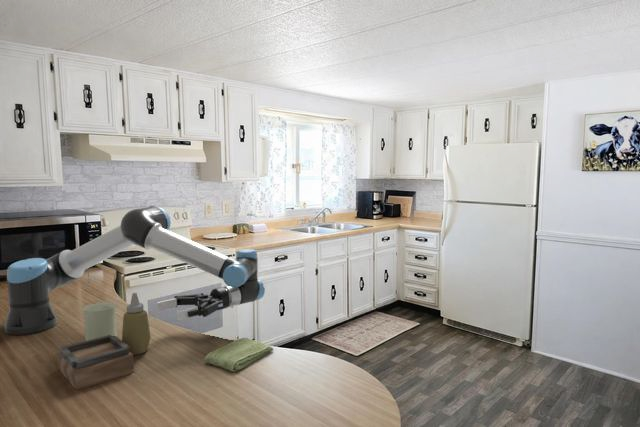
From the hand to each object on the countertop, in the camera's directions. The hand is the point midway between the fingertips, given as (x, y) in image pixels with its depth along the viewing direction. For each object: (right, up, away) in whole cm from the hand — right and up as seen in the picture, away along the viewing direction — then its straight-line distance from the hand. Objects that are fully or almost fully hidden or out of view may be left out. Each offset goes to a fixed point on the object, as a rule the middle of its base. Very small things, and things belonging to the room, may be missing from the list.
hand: (166, 311), depth 134 cm
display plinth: (-13, -12, -19) cm, 25 cm away
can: (-22, -10, +2) cm, 24 cm away
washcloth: (+25, -12, -9) cm, 29 cm away
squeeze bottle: (-7, -11, -6) cm, 14 cm away
